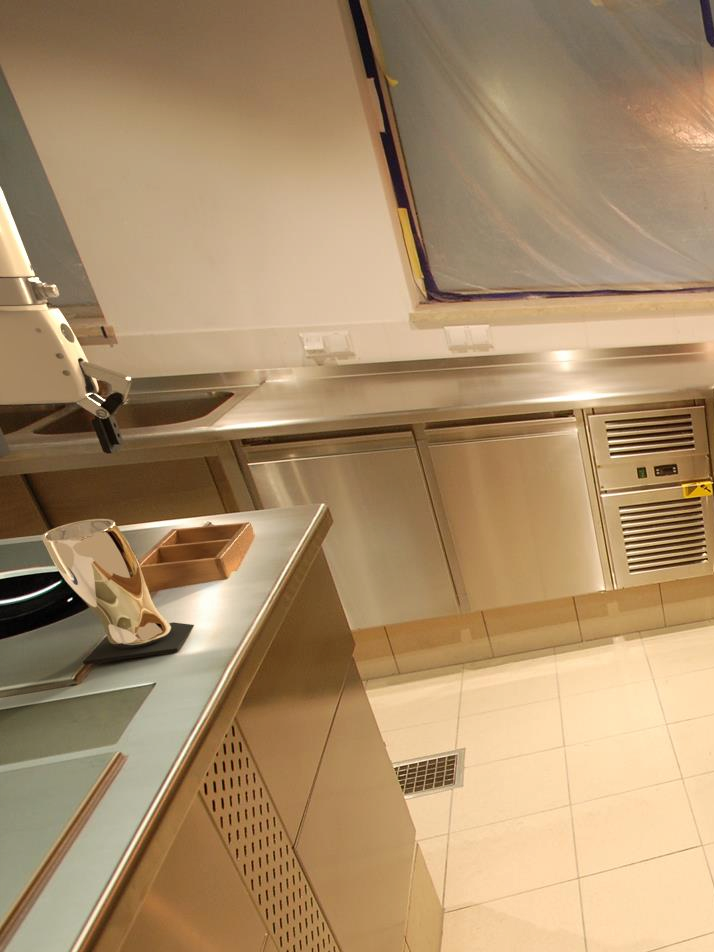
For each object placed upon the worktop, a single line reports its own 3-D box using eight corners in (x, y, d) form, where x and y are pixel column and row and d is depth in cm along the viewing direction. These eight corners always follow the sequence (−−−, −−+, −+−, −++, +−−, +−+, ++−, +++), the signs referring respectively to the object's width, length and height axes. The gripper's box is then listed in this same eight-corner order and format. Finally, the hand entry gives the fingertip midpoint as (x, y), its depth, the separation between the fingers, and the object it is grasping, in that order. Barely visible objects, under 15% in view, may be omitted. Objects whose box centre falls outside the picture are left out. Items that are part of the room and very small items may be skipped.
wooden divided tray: (143, 600, 120) (129, 568, 118) (183, 558, 135) (171, 529, 133) (232, 590, 124) (220, 558, 122) (260, 550, 140) (250, 521, 137)
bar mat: (83, 665, 102) (82, 661, 102) (113, 633, 110) (111, 630, 110) (178, 651, 106) (176, 648, 105) (200, 622, 114) (198, 619, 113)
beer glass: (91, 647, 105) (22, 538, 97) (149, 620, 111) (88, 515, 103) (134, 654, 104) (67, 544, 96) (190, 626, 109) (131, 520, 102)
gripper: (111, 294, 97) (164, 443, 104) (-102, 291, 89) (-30, 451, 96) (86, 298, 91) (144, 455, 98) (-145, 295, 83) (-64, 466, 90)
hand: (58, 453), depth 97 cm, fingers open, 9 cm apart
